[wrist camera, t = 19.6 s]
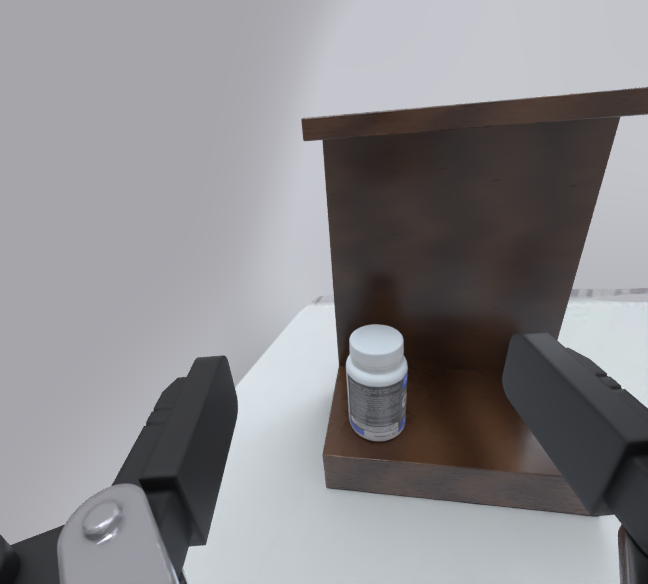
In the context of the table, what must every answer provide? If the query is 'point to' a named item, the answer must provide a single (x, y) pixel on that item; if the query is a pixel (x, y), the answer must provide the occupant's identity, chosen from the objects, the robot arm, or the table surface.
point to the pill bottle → (377, 382)
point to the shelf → (460, 278)
